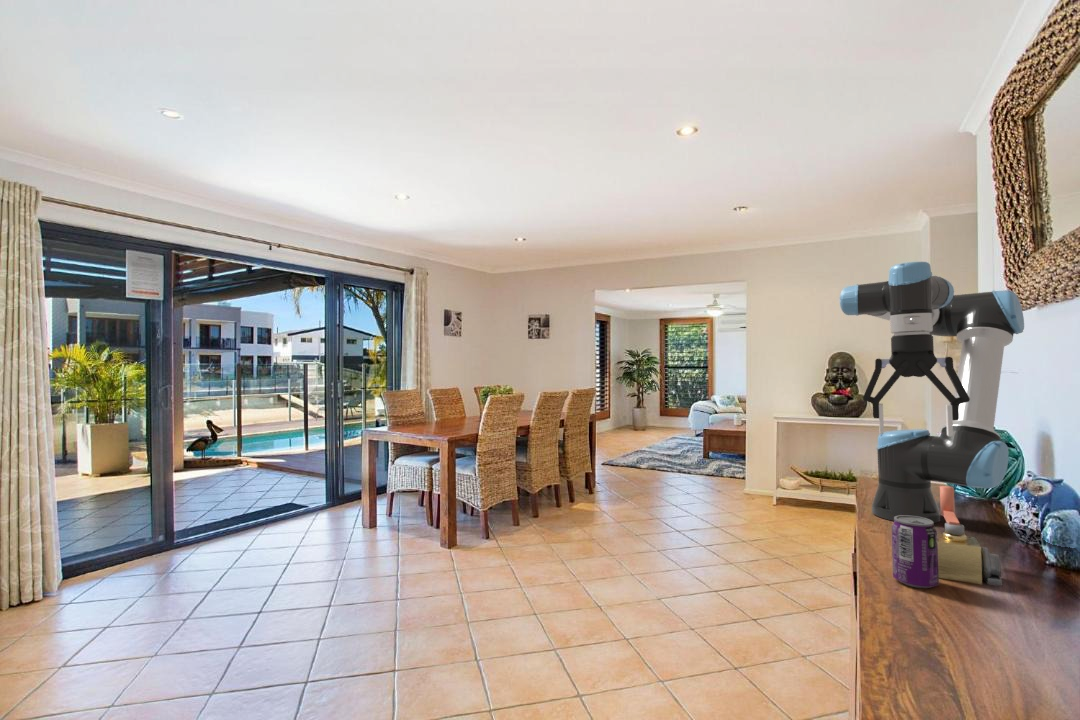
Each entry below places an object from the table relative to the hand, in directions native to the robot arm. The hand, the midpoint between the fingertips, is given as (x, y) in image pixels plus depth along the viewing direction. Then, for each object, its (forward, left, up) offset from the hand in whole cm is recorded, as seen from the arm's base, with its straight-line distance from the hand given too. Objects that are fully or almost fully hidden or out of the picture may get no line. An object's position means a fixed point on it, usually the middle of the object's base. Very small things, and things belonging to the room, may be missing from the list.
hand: (914, 434), depth 114 cm
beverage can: (+18, -2, -26) cm, 32 cm away
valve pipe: (+10, +5, -26) cm, 28 cm away
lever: (+5, +5, -18) cm, 19 cm away
